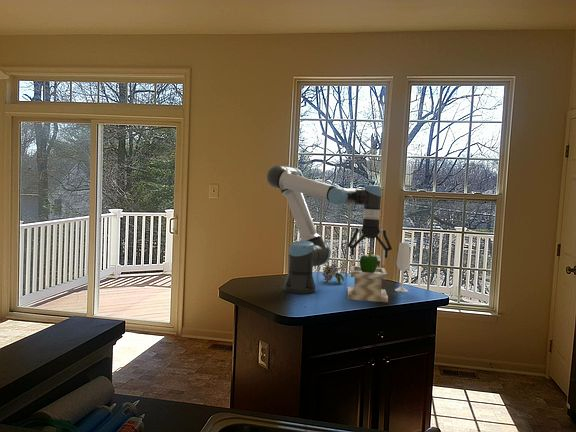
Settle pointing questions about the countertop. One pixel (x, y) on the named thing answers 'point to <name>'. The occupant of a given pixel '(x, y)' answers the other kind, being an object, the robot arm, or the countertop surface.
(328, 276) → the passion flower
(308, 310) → the countertop surface
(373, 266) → the bell pepper
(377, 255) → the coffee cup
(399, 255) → the champagne flute
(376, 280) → the display stand
